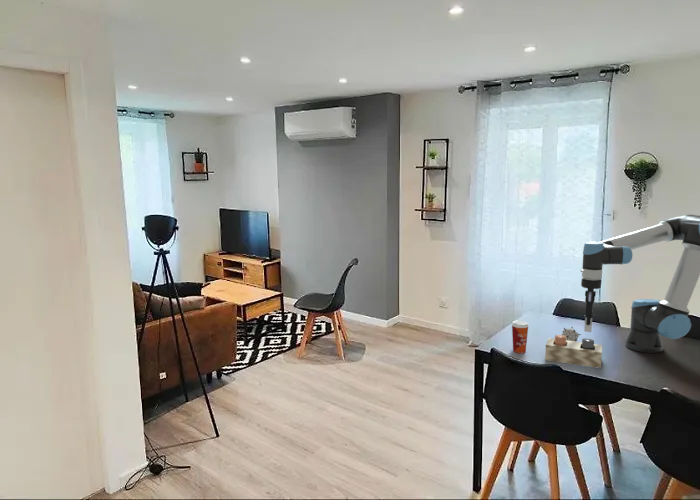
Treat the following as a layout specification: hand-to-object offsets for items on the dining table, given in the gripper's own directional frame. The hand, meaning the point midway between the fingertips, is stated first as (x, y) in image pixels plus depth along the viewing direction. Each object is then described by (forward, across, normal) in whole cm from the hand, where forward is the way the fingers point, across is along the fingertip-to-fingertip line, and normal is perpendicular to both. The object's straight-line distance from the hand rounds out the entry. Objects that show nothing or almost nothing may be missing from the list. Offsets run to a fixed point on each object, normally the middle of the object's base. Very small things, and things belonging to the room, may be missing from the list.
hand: (587, 331), depth 203 cm
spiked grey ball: (+14, -21, -8) cm, 27 cm away
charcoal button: (+10, 0, 0) cm, 10 cm away
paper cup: (+15, -1, -28) cm, 32 cm away
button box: (+14, 0, -5) cm, 15 cm away
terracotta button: (+10, 0, -11) cm, 14 cm away
